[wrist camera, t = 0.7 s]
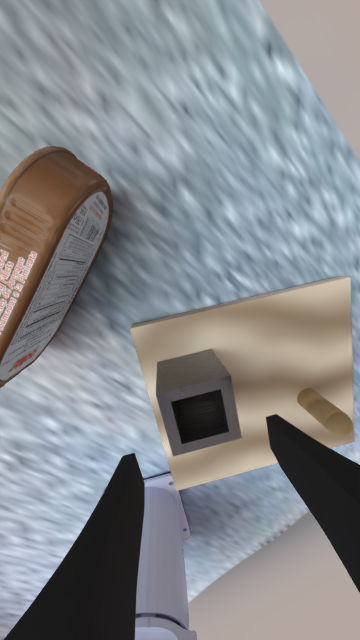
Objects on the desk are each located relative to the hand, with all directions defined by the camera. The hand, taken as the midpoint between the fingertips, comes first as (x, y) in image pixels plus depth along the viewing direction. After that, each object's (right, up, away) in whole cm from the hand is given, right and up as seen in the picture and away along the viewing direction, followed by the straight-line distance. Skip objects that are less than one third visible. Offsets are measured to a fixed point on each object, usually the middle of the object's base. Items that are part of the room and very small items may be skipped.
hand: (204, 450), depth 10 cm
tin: (-11, +10, +7) cm, 16 cm away
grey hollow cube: (0, +1, +8) cm, 8 cm away
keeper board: (+6, 0, +10) cm, 12 cm away
